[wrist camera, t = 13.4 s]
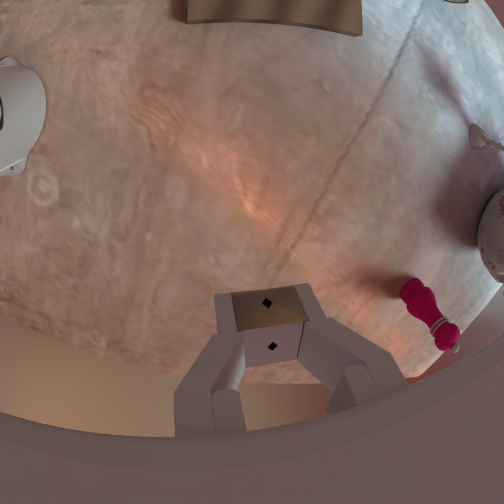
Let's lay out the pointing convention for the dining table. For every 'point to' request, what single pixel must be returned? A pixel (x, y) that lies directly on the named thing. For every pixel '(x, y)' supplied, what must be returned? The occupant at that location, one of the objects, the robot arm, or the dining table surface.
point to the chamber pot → (493, 237)
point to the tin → (457, 1)
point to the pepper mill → (430, 314)
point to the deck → (282, 13)
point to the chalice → (481, 139)
